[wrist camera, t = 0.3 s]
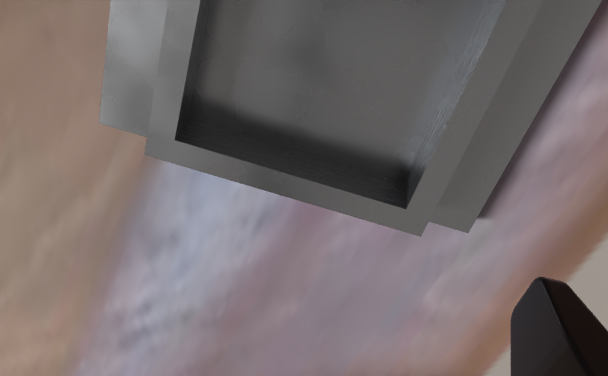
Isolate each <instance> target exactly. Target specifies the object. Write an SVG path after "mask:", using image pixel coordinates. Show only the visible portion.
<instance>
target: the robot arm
mask: <svg viewBox="0 0 608 376" xmlns="http://www.w3.org/2000/svg"><path fill="white" fill-rule="evenodd" d="M511 376H608V331H607V330H606V328H605V327H604V326H603V325H602V324H601V323H600V322H599V320H598V319H597V318H596V317H595V316H594V315H593V313H592V312H591V311H590V310H589V309H588V308H587V306H586V305H585V304H584V303H583V302H582V301H581V299H580V298H579V297H578V296H577V295H576V294H575V293H574V291H573V290H572V289H571V288H570V287H569V286H568V285H567V284H566V283H564V282H562V281H558V280H554V279H550V278H546V277H538V278H536V279H535V280H534V281H533V282H532V283H531V285H530V286H529V288H528V289H527V291H526V292H525V293H524V295H523V296H522V298H521V299H520V301H519V302H518V303H517V305H516V306H515V308H514V310H513V313H512V316H511Z"/></svg>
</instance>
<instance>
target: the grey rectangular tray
mask: <svg viewBox="0 0 608 376" xmlns="http://www.w3.org/2000/svg"><path fill="white" fill-rule="evenodd" d="M601 1H602V0H111V5H110V15H109V26H108V36H107V46H106V56H105V66H104V77H103V87H102V97H101V107H100V117H99V123H101V124H104V125H107V126H111V127H114V128H117V129H121V130H124V131H128V132H131V133H134V134H138V135H141V136H144V137H147V141H146V148H145V154H144V155H147V156H150V157H154V158H157V159H160V160H164V161H167V162H171V163H174V164H177V165H181V166H184V167H187V168H191V169H194V170H198V171H201V172H204V173H208V174H211V175H214V176H218V177H221V178H225V179H228V180H231V181H235V182H238V183H241V184H245V185H248V186H252V187H255V188H258V189H262V190H265V191H268V192H272V193H275V194H279V195H282V196H285V197H289V198H292V199H296V200H299V201H302V202H306V203H309V204H312V205H316V206H319V207H323V208H326V209H329V210H333V211H336V212H339V213H343V214H346V215H350V216H353V217H356V218H360V219H363V220H366V221H370V222H373V223H377V224H380V225H383V226H387V227H390V228H393V229H397V230H400V231H404V232H407V233H410V234H414V235H417V236H420V237H421V235H422V233H423V231H424V230H425V228H426V226H427V224H428V222H432V223H436V224H439V225H443V226H446V227H449V228H453V229H456V230H459V231H463V232H466V233H469V231H470V229H471V227H472V226H473V224H474V222H475V220H476V219H477V217H478V215H479V213H480V212H481V210H482V208H483V206H484V205H485V203H486V201H487V200H488V198H489V196H490V194H491V193H492V191H493V189H494V187H495V186H496V184H497V182H498V180H499V179H500V177H501V175H502V173H503V172H504V170H505V168H506V166H507V165H508V163H509V161H510V160H511V158H512V156H513V154H514V153H515V151H516V149H517V147H518V146H519V144H520V142H521V140H522V139H523V137H524V135H525V133H526V132H527V130H528V128H529V127H530V125H531V123H532V121H533V120H534V118H535V116H536V114H537V113H538V111H539V109H540V107H541V106H542V104H543V102H544V100H545V99H546V97H547V95H548V94H549V92H550V90H551V88H552V87H553V85H554V83H555V81H556V80H557V78H558V76H559V74H560V73H561V71H562V69H563V67H564V66H565V64H566V62H567V60H568V59H569V57H570V55H571V54H572V52H573V50H574V48H575V47H576V45H577V43H578V41H579V40H580V38H581V36H582V34H583V33H584V31H585V29H586V27H587V26H588V24H589V22H590V21H591V19H592V17H593V15H594V14H595V12H596V10H597V8H598V7H599V5H600V3H601Z"/></svg>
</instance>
